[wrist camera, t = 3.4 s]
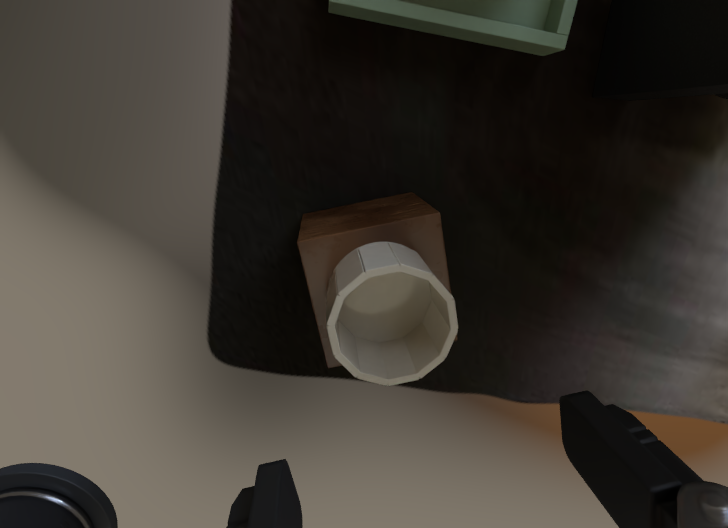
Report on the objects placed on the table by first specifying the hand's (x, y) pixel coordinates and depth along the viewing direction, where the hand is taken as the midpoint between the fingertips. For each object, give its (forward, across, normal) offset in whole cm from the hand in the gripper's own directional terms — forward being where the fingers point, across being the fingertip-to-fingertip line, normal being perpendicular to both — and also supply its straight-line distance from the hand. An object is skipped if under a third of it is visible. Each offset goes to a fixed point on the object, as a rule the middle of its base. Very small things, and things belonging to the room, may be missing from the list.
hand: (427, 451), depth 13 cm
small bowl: (+13, 0, 0) cm, 13 cm away
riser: (+21, 0, 0) cm, 21 cm away
